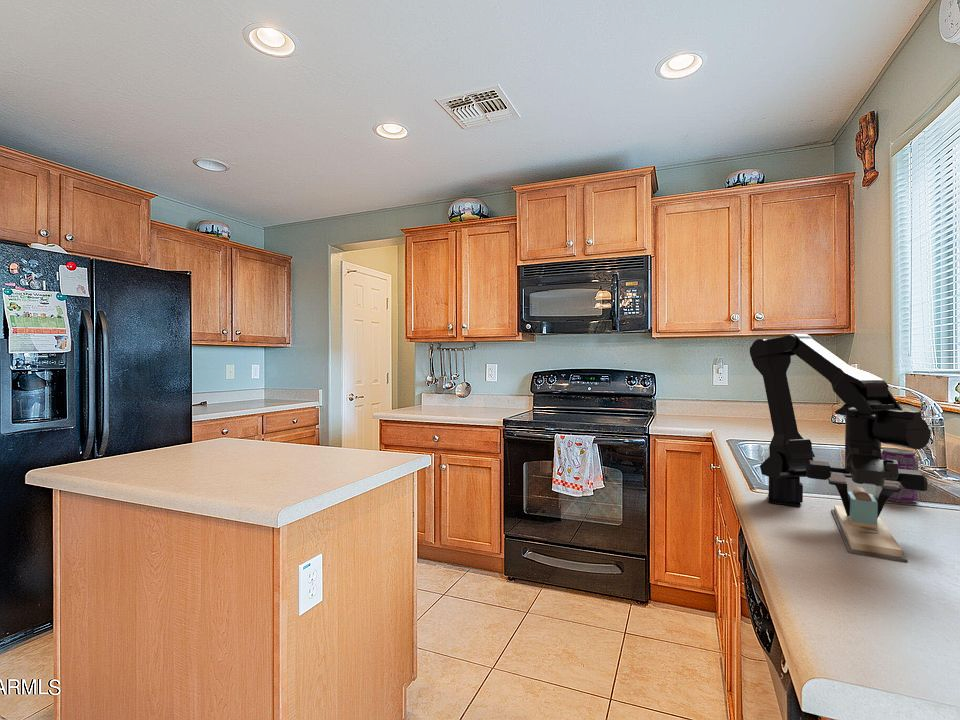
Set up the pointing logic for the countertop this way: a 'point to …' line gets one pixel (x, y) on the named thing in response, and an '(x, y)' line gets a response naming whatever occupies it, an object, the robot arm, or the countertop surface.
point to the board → (867, 538)
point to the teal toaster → (862, 508)
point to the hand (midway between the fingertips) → (861, 517)
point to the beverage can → (906, 462)
